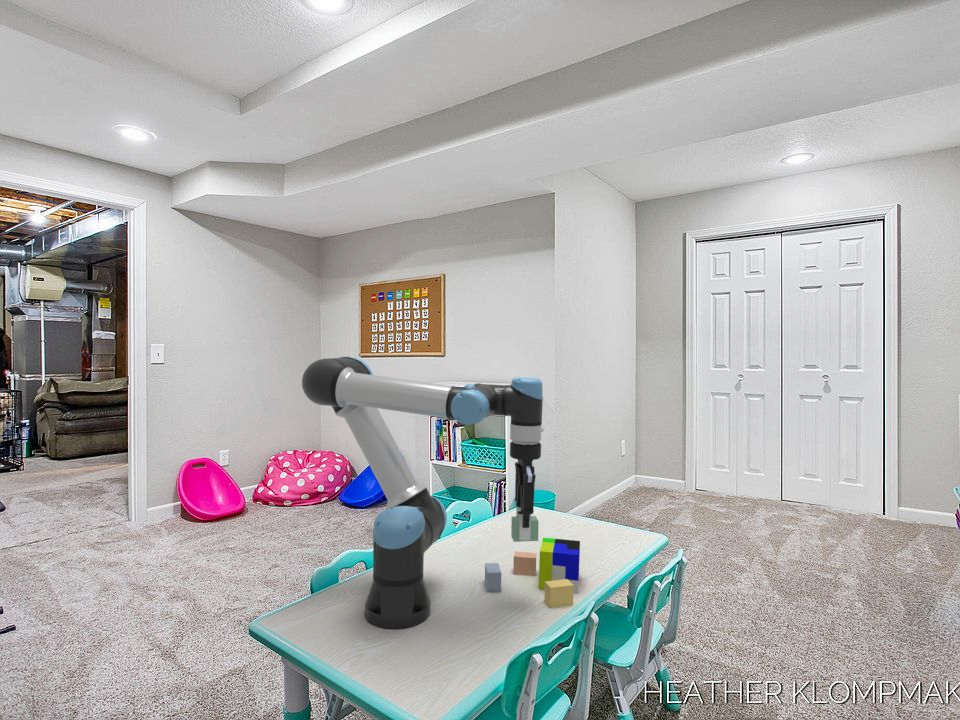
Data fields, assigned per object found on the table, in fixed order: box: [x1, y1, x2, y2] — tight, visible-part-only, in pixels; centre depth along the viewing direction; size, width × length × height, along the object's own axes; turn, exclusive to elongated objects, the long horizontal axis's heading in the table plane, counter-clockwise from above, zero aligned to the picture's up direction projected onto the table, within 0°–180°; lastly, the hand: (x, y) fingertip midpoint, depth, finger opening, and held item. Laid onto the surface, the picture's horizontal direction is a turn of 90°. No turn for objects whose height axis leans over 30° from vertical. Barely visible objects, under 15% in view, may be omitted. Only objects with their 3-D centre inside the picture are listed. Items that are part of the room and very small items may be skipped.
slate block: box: [484, 562, 502, 593], centre depth 144 cm, size 6×4×5 cm, turn 6°
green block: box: [510, 515, 539, 543], centre depth 136 cm, size 6×4×5 cm, turn 96°
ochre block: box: [544, 579, 574, 608], centre depth 136 cm, size 6×4×5 cm, turn 106°
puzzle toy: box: [538, 537, 581, 594], centre depth 147 cm, size 10×10×10 cm
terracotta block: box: [512, 551, 537, 577], centre depth 154 cm, size 6×4×5 cm, turn 81°
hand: (522, 536), depth 136 cm, fingers closed on green block, 3 cm apart
